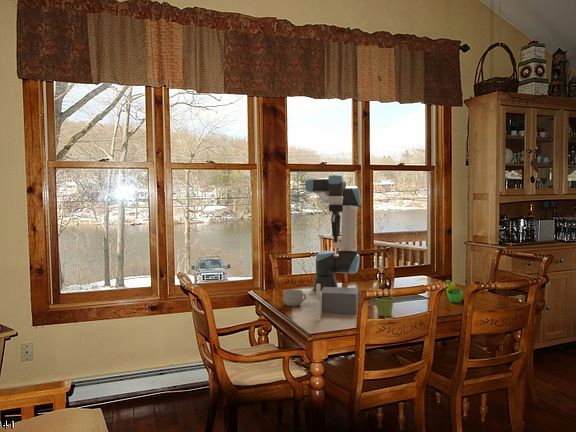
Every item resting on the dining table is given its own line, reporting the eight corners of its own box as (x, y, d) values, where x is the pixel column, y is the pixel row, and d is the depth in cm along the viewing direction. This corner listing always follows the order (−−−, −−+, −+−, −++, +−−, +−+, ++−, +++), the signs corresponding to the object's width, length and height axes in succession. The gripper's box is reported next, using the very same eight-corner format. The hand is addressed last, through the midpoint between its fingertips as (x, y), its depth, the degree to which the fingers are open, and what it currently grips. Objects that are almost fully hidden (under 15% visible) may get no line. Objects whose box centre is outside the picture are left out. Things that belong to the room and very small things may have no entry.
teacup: (279, 305, 250) (278, 290, 249) (294, 301, 257) (294, 287, 256) (296, 310, 239) (295, 294, 239) (311, 306, 246) (311, 291, 246)
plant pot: (373, 313, 231) (373, 296, 230) (391, 312, 232) (391, 295, 231) (378, 318, 222) (377, 300, 221) (397, 317, 222) (397, 299, 222)
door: (323, 311, 233) (322, 278, 233) (320, 321, 217) (319, 285, 216) (319, 311, 234) (318, 278, 233) (316, 321, 217) (315, 285, 216)
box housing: (323, 305, 248) (323, 286, 247) (357, 306, 244) (357, 287, 244) (320, 312, 234) (320, 292, 233) (356, 313, 230) (356, 293, 230)
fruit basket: (463, 303, 249) (463, 282, 248) (446, 302, 251) (446, 281, 250) (460, 298, 260) (460, 278, 259) (443, 297, 262) (443, 277, 261)
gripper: (340, 204, 237) (340, 250, 239) (345, 203, 249) (345, 246, 251) (325, 204, 239) (326, 249, 241) (331, 203, 251) (332, 246, 253)
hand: (336, 248), depth 246 cm, fingers closed
